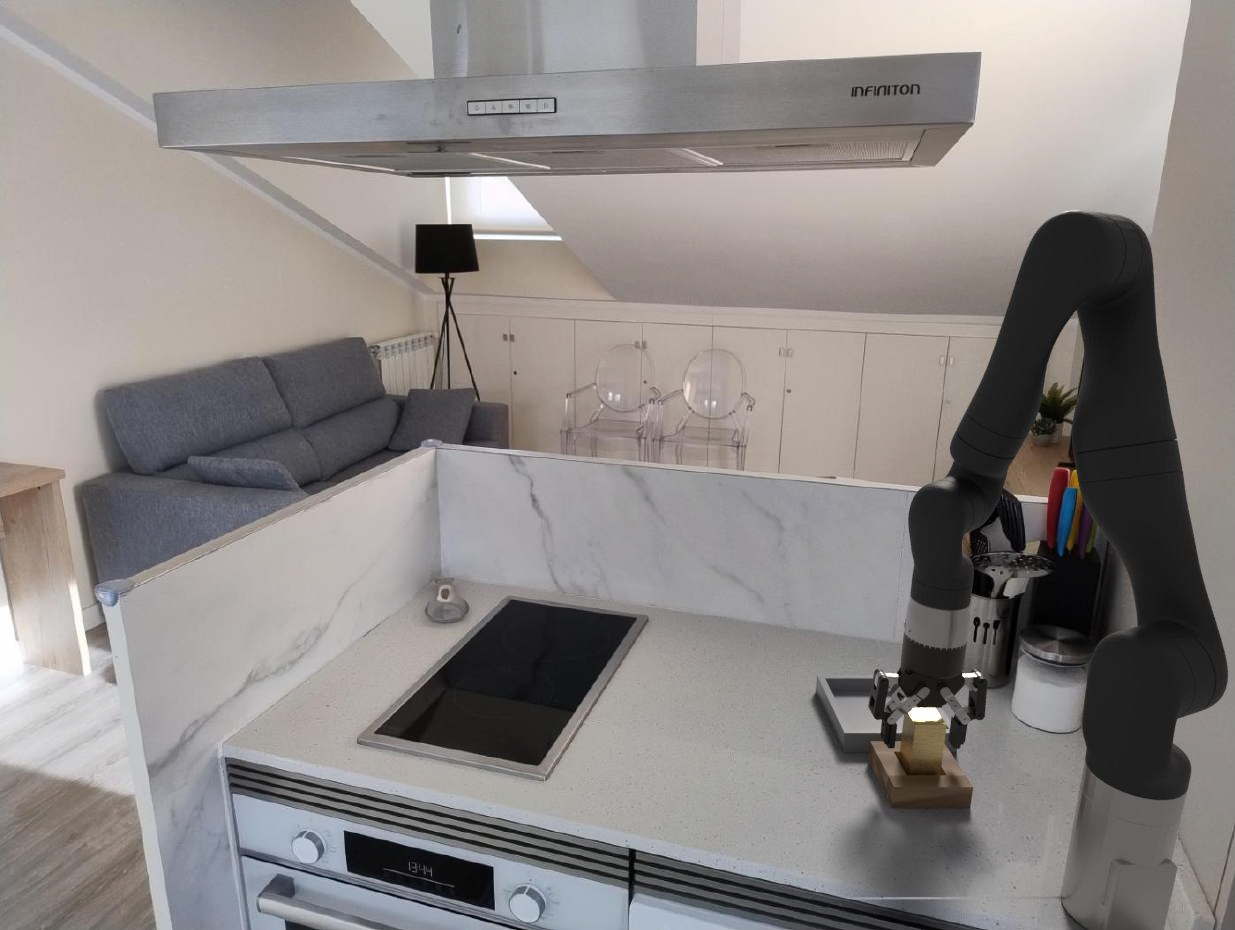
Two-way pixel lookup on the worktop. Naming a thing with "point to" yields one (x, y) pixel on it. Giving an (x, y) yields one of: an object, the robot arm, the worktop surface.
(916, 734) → the pin
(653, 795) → the worktop surface
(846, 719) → the parts tray
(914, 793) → the socket block
